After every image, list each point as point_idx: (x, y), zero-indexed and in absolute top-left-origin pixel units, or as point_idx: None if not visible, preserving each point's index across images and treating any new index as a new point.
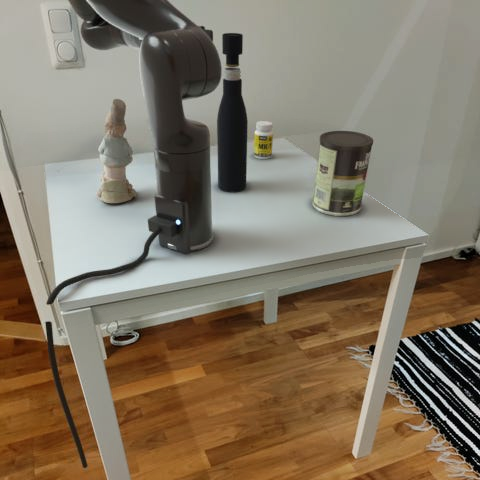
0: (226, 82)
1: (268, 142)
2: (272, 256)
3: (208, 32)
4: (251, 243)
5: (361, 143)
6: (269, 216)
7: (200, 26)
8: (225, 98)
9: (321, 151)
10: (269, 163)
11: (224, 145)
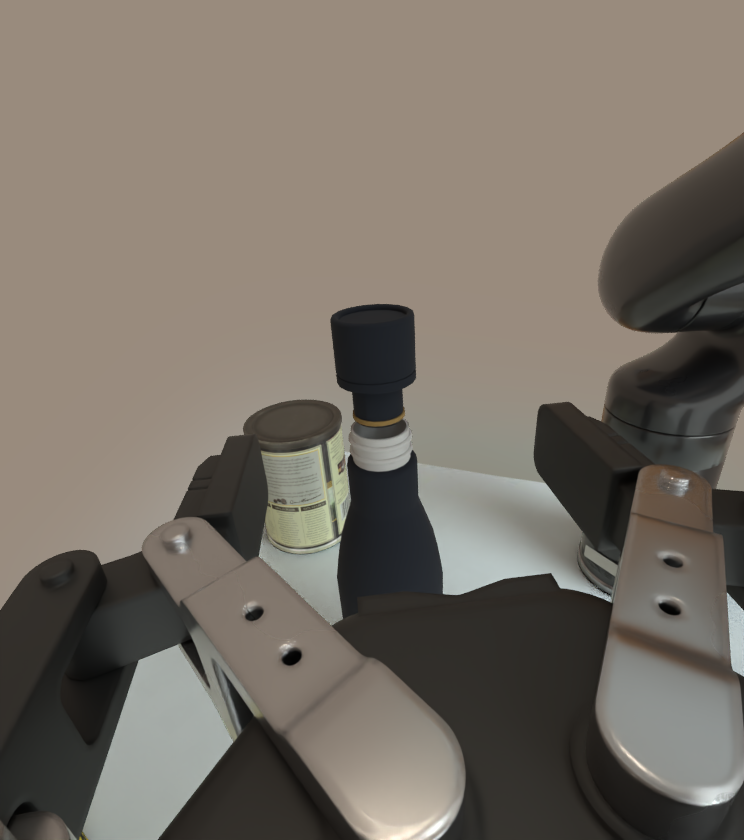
0: (416, 457)
1: None
2: (513, 486)
3: (254, 452)
4: (522, 515)
5: (298, 406)
6: None
7: (31, 603)
8: (420, 502)
9: (335, 445)
10: (137, 800)
11: None
